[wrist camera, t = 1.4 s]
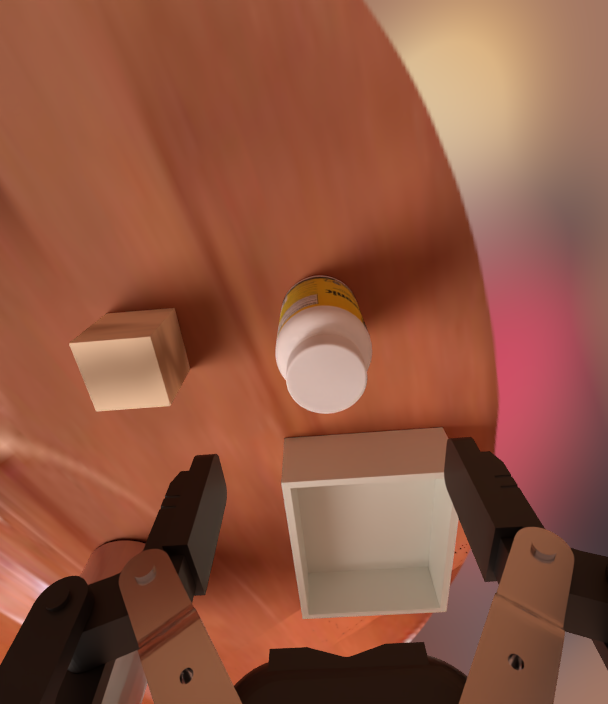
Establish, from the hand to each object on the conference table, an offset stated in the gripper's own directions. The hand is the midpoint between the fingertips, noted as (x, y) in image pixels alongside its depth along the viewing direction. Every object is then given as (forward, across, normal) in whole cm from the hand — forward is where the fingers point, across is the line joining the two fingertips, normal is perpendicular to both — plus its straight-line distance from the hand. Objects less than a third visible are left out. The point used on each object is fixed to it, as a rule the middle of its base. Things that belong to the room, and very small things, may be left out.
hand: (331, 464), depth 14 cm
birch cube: (+16, +13, +2) cm, 20 cm away
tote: (+15, -3, +20) cm, 25 cm away
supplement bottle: (+16, 0, 0) cm, 16 cm away
